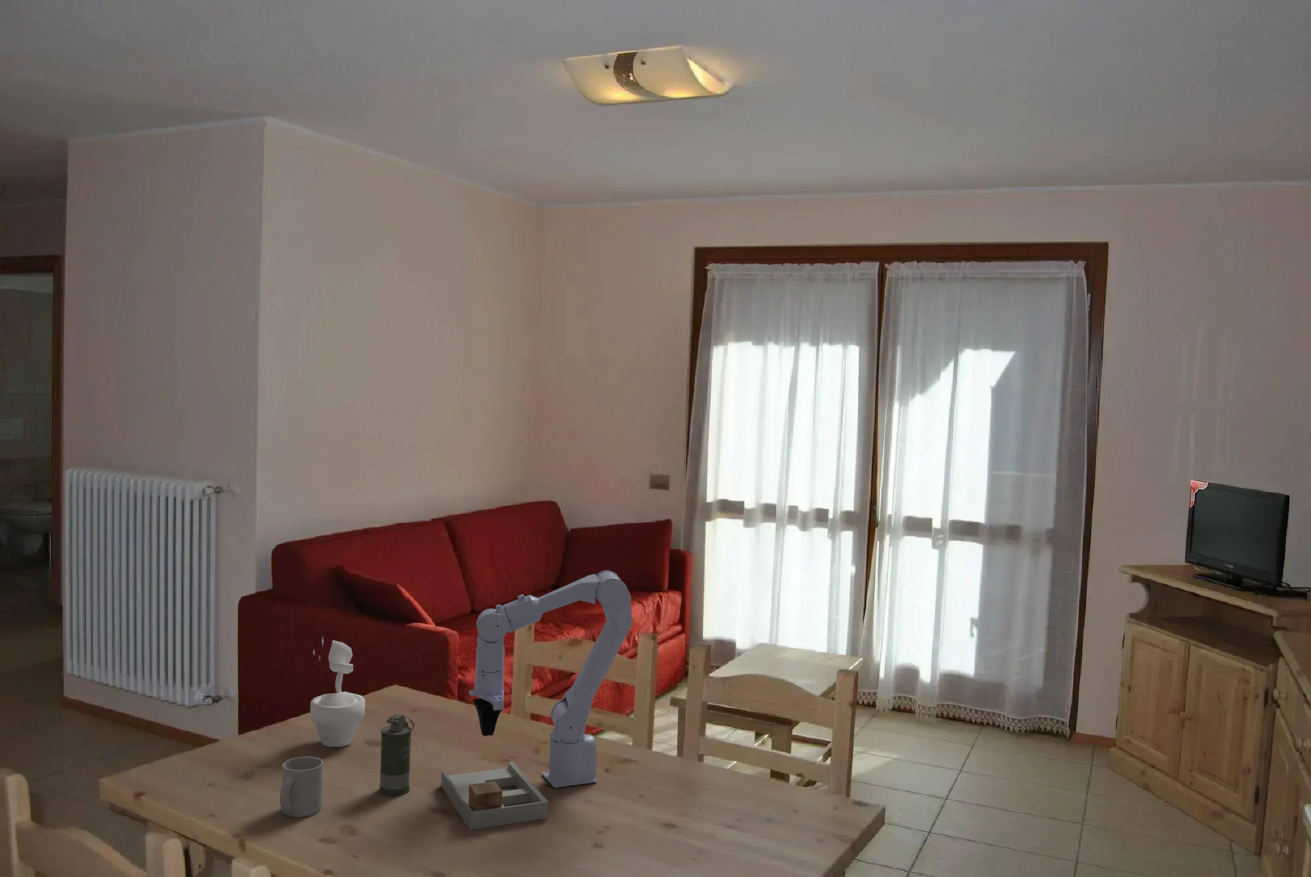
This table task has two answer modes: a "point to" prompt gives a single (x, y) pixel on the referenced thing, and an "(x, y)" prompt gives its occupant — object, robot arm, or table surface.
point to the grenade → (395, 756)
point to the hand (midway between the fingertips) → (487, 734)
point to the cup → (302, 786)
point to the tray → (516, 797)
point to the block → (484, 796)
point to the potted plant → (338, 703)
